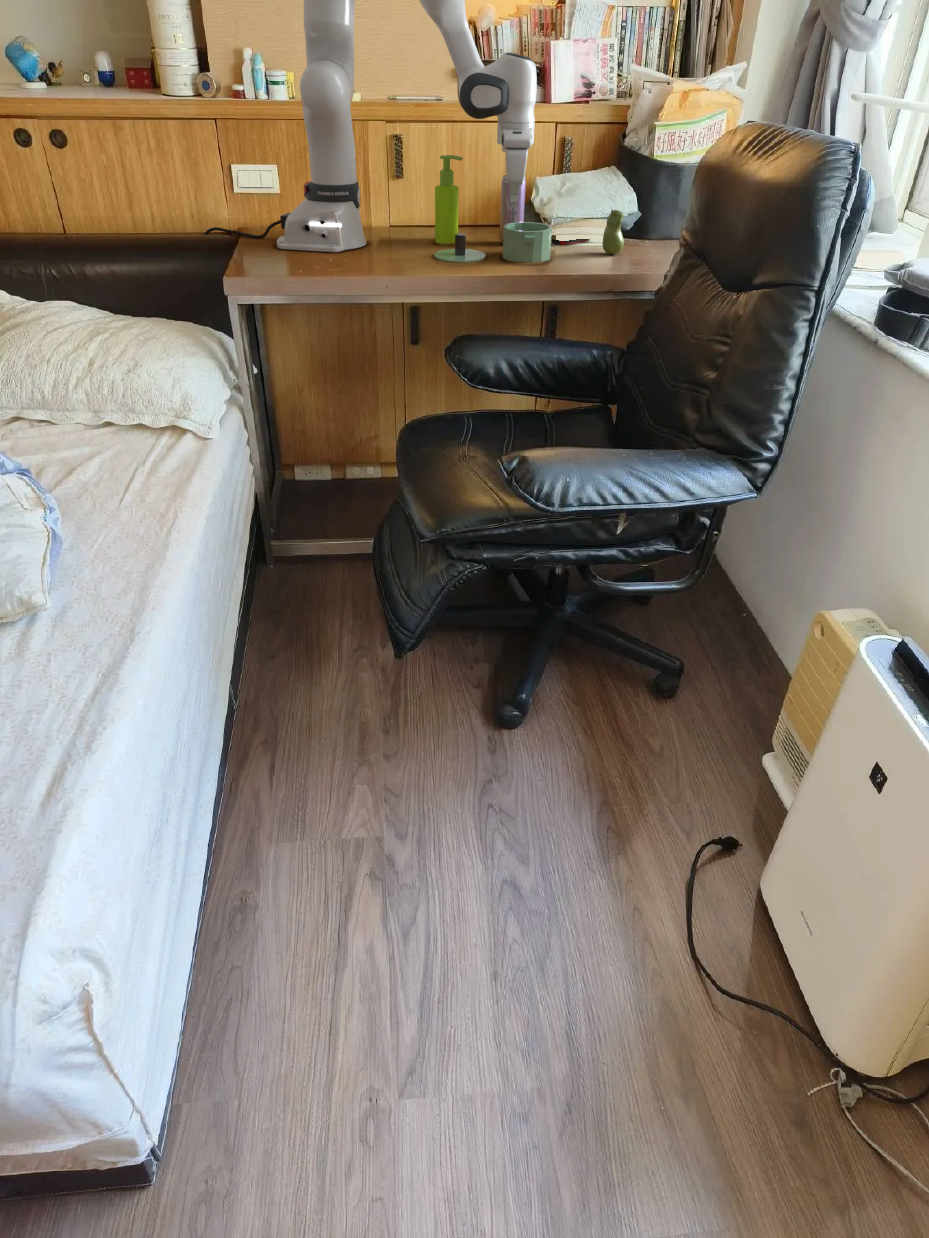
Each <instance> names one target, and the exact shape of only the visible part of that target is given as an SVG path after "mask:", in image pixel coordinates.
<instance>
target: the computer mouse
mask: <svg viewBox="0 0 929 1238" xmlns="http://www.w3.org/2000/svg"><path fill="white" fill-rule="evenodd" d="M590 240H591V238H590V239H576V240H569V241H559V240H554V239H552V238H551V244H555V245H560V246H570V245H577V244H579V243H581V244H582V243H588V242H589V241H590Z"/></svg>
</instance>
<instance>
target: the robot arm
mask: <svg viewBox="0 0 929 1238" xmlns="http://www.w3.org/2000/svg"><path fill="white" fill-rule="evenodd" d="M355 1H356V0H303V28H304V40H305V51H306V52H305V54H306V68H305V69H304V71H303V72H302V74H301V77H300V81H299V92H300V102H301V108H302V116H303V121H304V128H305V134H306V140H307V145H308V146H307V147H308V159H309V169H310V178H311V179H310V180H307V181H305V183H304V184H303V196H304V198H305V199H304V200H302V201H301V202H300V204H298V205H297V206H296V207H295V208H294V209H293V210H292V211H291V212H287V213H284V214H282V215H281V214H280V216H279V218H280V219H279V220H276V221H274V222H272V223H270V224H269V225H268V226H267V227H266V230H265V231H264V232H263V233H262V234H257V235H256V234H252V233H247V232H243V231H238V230H233V229H232V230H231V229H227V228H224V227H211V228H209V229H206V231H205V232H204V235H209V234H210V233H211V232H214V231H220V232H224V233H229V234H232V235H233V234H234V235H237V236H242V237H247V238H251V239H263V238H265V237H266V236H268V234H269V232H270V231H271V229H272V228H274V227H275V226H278V225H280V227H281V230H284V235H281V236H280V237H278V238H277V239H276V247H277V248H278V249H280V250H293V251H307V252H309V251H310V252H324V253H325V252H326V253H338V252H339V253H340V252H343V251H346V250H348V251H349V250H355V249H358V248H362V247H365V246H366V245H367V243H368V242H367V239H366V236H365V233H364V229H363V224H362V219H361V218H362V217H361V212H360V211H361V210H360V207H361V192H360V191H361V190H360V185H359V183H360V182H358V178H357V177H358V176H357V161H356V160H357V159H356V143H355V137H354V129H353V120H352V111H351V109H352V108H351V102H352V100H353V98H354V94H355V8H356V7H355V6H356V5H355V3H356V2H355ZM418 2H419V3H420V4H421V7H422V8H423V9H424V11H425V13H426V14H427V16H428V17H429V18H430V19H431V20H432V21H433V23H434V24H435V26H436V27H437V28H438V30H439V32H440V34H441V36H442V37H443V41H444V43H445V46H446V48H447V51H448V53H449V56H450V58H451V62H452V64H453V66H454V69H455V73H456V77H457V99H458V103H459V105H460V107H461V108H462V110H463V111H464V112H465V113H466V115H468V116H469V117H470V118H473V119H475V120H485V119H487V118H492V117H495V116H496V117H497V129H496V130H497V132H496V144H498V145H500V146H501V152H503V153H505V156H504V173H505V175H506V176H507V180H508V184H510V202H511V203H516V202H517V198H518V190H519V185H522V184H523V182H524V177H525V178H526V171H527V162H528V155H529V149H531V148H532V145H534V143H535V141H534V140H535V127H536V126H535V124H536V117H535V106H536V102H537V94H538V93H537V91H538V89H537V88H538V78H537V73H538V72H537V66H536V63H535V62H534V61H533V59H532V58H530V57H529V56H526V55H522V54H519V53H515V52H514V53H513V52H504V53H503V54H502V55H501V56H500V57H499V58H497V59H496V60H495V61H493V62H492V63H489V64H487V65H485V63H484V62H483V61H482V59H481V57H480V54H479V51H478V48H477V46H476V43H475V40H474V38H473V37H474V36H473V35H472V32H471V29H470V25H469V22H468V18H467V12H466V11H467V10H466V0H418Z"/></svg>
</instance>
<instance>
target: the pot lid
mask: <svg viewBox="0 0 929 1238" xmlns="http://www.w3.org/2000/svg"><path fill="white" fill-rule="evenodd" d="M466 240H467V234H466V233H463V232H458V233H457V234H455V243H454V248H447V249H441V250H438V251H436V252H435V253H434V254H433V256H434V258H435V259H437V260H438V261H442V262H446V263H454V264H455V263H457V264H465V263H466V264H468V263H476V262H480V261H484V260H485V259H486V257H487V255H486V253H485V252H483V251H480V250H477V249H470V248H467V245H466V244H467V243H466V242H467V241H466Z"/></svg>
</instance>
